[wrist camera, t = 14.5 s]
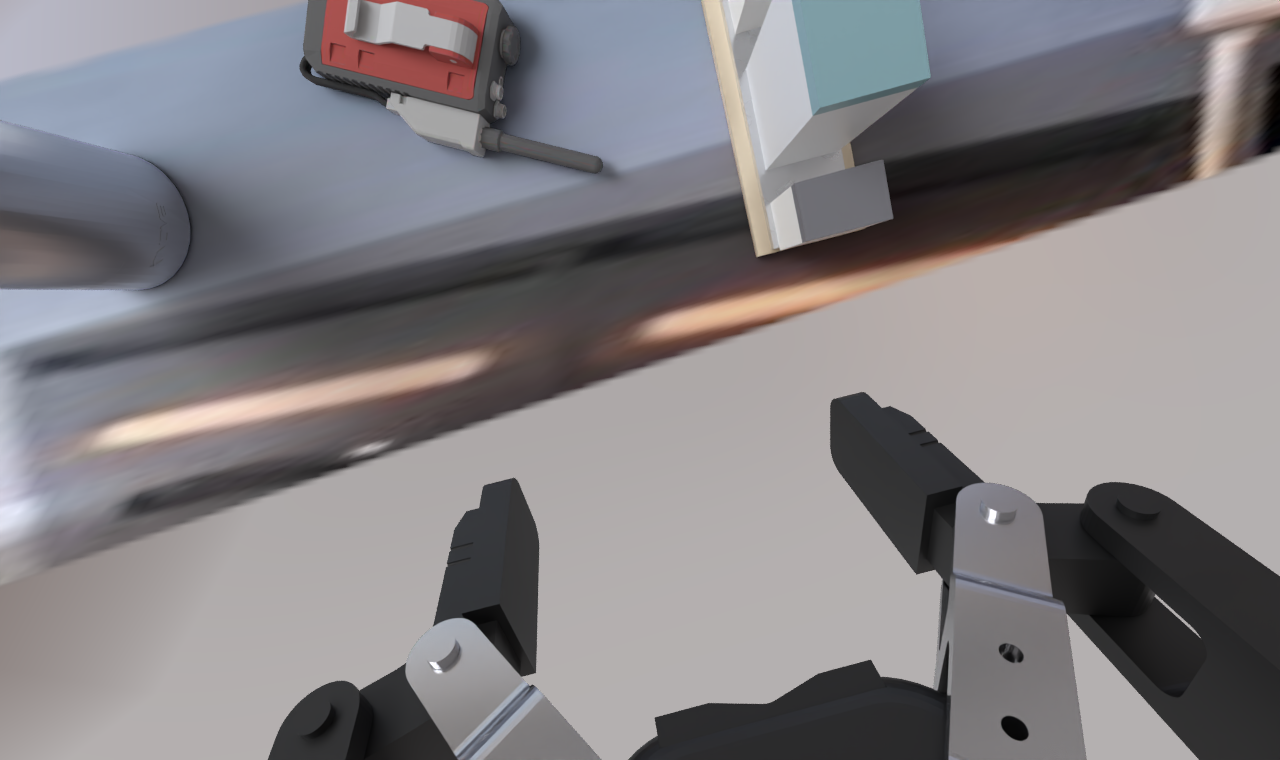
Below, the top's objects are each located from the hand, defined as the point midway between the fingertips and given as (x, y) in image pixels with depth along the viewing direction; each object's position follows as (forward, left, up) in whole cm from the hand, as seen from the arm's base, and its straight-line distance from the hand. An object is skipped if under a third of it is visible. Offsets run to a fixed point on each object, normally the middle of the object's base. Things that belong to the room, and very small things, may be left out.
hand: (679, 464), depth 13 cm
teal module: (+3, +17, -22) cm, 27 cm away
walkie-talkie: (-17, +14, -24) cm, 32 cm away
